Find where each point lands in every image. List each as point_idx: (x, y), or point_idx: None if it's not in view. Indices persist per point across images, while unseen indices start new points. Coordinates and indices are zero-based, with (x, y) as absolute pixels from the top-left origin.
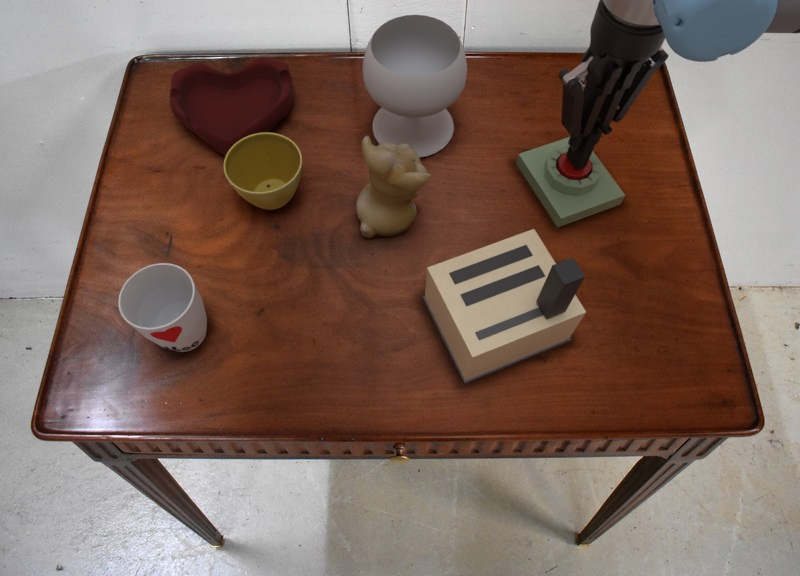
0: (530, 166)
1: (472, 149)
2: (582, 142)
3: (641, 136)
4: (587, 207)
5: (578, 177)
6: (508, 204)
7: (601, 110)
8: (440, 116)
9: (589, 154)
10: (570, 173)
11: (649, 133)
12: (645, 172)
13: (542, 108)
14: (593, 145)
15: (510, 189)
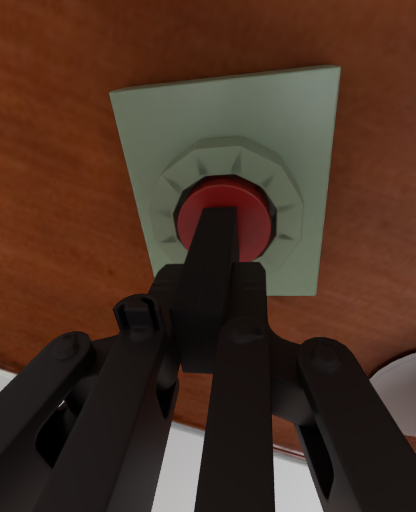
0: (311, 259)
1: (371, 327)
2: (234, 288)
3: (32, 247)
4: (237, 83)
5: (234, 183)
6: (401, 185)
7: (150, 436)
8: (387, 397)
9: (200, 237)
10: (254, 202)
11: (15, 248)
12: (39, 163)
13: None
14: (191, 263)
15: (365, 222)
